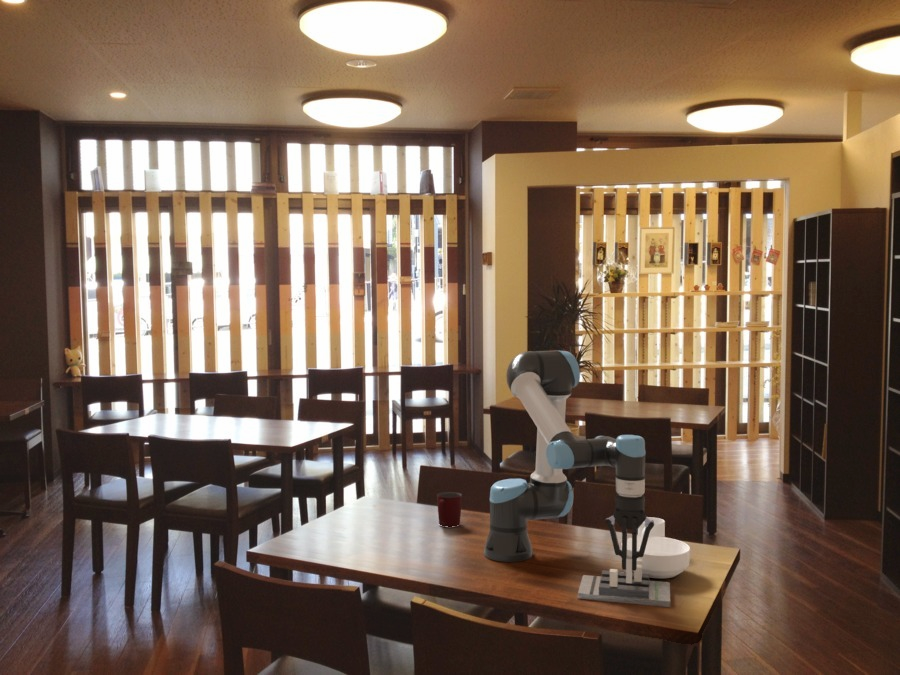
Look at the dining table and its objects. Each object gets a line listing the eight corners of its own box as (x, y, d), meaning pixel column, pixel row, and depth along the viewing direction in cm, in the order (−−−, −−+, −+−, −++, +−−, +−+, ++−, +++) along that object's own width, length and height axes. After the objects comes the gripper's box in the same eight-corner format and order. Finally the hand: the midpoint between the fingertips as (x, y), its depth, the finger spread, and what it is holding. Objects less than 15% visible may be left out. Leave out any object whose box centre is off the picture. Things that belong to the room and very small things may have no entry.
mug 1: (451, 532, 279) (451, 500, 278) (428, 528, 283) (428, 497, 282) (465, 523, 290) (465, 493, 289) (443, 520, 293) (443, 490, 293)
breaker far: (634, 575, 223) (634, 560, 223) (634, 572, 225) (635, 558, 225) (641, 575, 223) (642, 561, 222) (642, 572, 225) (642, 558, 225)
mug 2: (654, 561, 248) (654, 527, 247) (629, 556, 252) (629, 523, 252) (668, 551, 257) (668, 519, 257) (643, 546, 262) (644, 515, 262)
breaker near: (609, 586, 214) (609, 571, 214) (610, 583, 216) (610, 568, 216) (617, 587, 214) (617, 572, 213) (617, 584, 216) (617, 569, 216)
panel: (577, 598, 215) (577, 585, 215) (582, 580, 230) (583, 568, 230) (670, 607, 209) (670, 593, 209) (669, 587, 224) (669, 575, 224)
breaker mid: (633, 581, 218) (634, 567, 218) (634, 578, 220) (634, 564, 220) (641, 582, 217) (641, 567, 217) (641, 579, 220) (641, 564, 219)
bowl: (687, 565, 243) (688, 538, 243) (692, 587, 224) (692, 557, 224) (621, 560, 248) (621, 533, 248) (620, 582, 229) (620, 552, 228)
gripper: (604, 495, 211) (603, 584, 212) (655, 498, 208) (654, 588, 209) (606, 489, 218) (605, 574, 219) (655, 492, 215) (654, 579, 216)
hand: (629, 581), depth 214 cm, fingers closed
